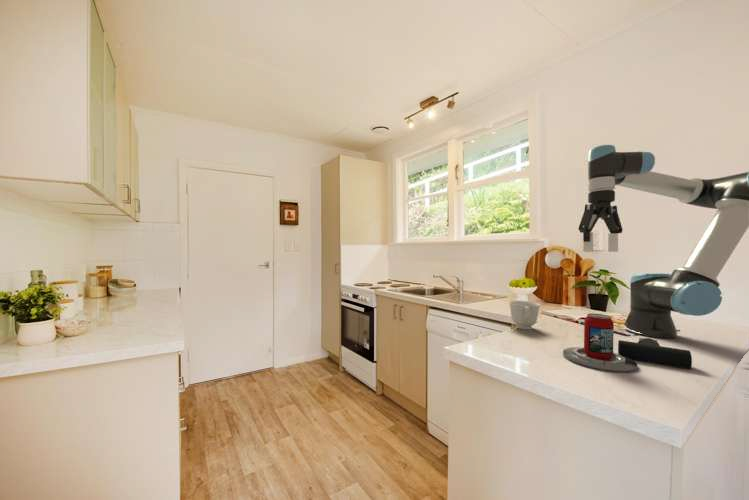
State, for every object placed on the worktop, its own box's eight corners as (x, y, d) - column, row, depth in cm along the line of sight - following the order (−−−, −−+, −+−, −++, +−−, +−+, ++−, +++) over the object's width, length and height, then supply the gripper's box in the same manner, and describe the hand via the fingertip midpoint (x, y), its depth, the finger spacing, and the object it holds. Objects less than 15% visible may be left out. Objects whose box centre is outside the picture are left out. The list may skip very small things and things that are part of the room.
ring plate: (587, 348, 98) (587, 342, 98) (651, 367, 82) (651, 361, 82) (549, 354, 91) (550, 348, 91) (611, 376, 76) (611, 369, 76)
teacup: (510, 331, 116) (510, 305, 116) (506, 323, 130) (506, 299, 130) (545, 335, 112) (545, 308, 112) (537, 325, 126) (537, 301, 126)
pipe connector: (616, 332, 98) (681, 341, 89) (616, 348, 98) (681, 359, 89) (619, 342, 89) (692, 352, 80) (619, 359, 89) (691, 372, 80)
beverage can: (595, 361, 83) (596, 317, 83) (578, 352, 90) (578, 312, 90) (619, 361, 83) (620, 318, 83) (600, 352, 90) (600, 312, 90)
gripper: (611, 195, 114) (611, 251, 114) (566, 190, 104) (566, 251, 105) (635, 192, 107) (634, 251, 107) (589, 186, 98) (588, 251, 98)
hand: (600, 251), depth 106 cm, fingers open, 13 cm apart
